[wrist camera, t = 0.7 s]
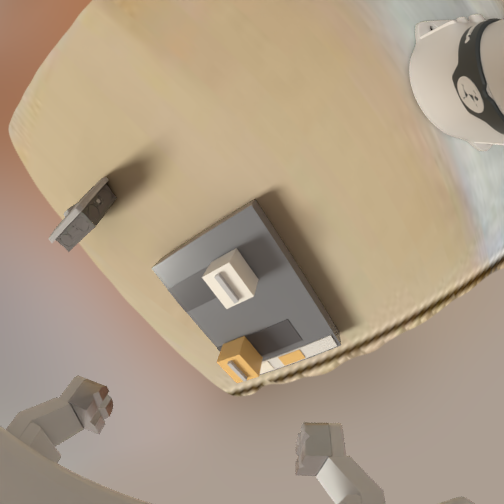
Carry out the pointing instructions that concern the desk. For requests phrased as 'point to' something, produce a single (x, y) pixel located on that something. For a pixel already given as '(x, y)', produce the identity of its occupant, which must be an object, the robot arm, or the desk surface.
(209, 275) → the ivory slider
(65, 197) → the desk surface
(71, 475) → the robot arm
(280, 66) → the desk surface
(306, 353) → the switch unit
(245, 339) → the amber slider
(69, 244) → the grey hollow box
